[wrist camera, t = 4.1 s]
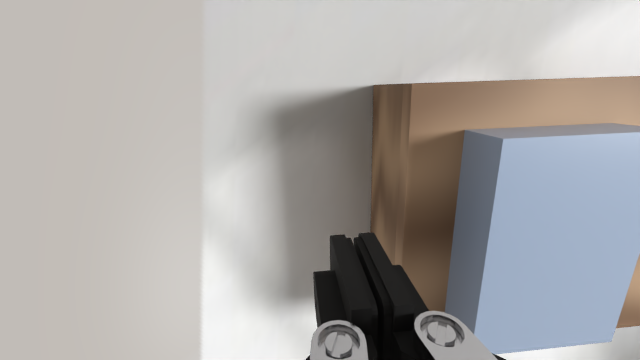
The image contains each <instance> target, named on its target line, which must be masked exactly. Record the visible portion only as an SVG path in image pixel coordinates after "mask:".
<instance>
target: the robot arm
mask: <svg viewBox="0 0 640 360" xmlns="http://www.w3.org/2000/svg"><path fill="white" fill-rule="evenodd" d="M330 267H331V270H330V271H318V272H314V297H315V309H316V319H317V327H318V328H317V329H316V331H315V332H314V333H313V337H312V341H311V351H310V355H309V357H308V358H307V359H306V360H506V359H503V358H501V357H499V356H497V355H495V354H493V353H491V352H490V351H489V350H488V349H487V348H486V347H485V346H484V345H483V343H482V342H481V341H480V340H479V339H478V338H477V337H476V336H475V335H474V334H473V333H472V332H471V331H470V330H469V328H468V327H467V326H466V325H465V324H464V323H462V322H461V321H460V320H459V319H458V318H456V317H454V316H452V315H450V314H447V313H444V312H440V311H429V309H428V308H427V306H426V305H425V303H424V301H423V300H422V298H421V297H420V295H419V293H418V292H417V290H416V288H415V287H414V285H413V284H412V282H411V280H410V279H409V277H408V275H407V274H406V272H405V271H404V269H403V267H402V266H401V265H392V263H391V261H390V259H389V258H388V256H387V254H386V252H385V251H384V249H383V247H382V245H381V244H380V242H379V240H378V238H377V237H376V235H375V233H359V237H356V238H354V245H353V243H352V240H351V238H346V237H345V235H333V236H330Z"/></svg>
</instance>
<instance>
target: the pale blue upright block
mask: <svg viewBox="0 0 640 360" xmlns="http://www.w3.org/2000/svg"><path fill="white" fill-rule="evenodd" d="M639 254H640V126H635V125H626V124H617V123H600V124H578V125H556V126H535V127H513V128H491V129H470V130H465V133H464V142H463V151H462V160H461V169H460V178H459V187H458V196H457V205H456V214H455V223H454V232H453V241H452V250H451V259H450V269H449V278H448V287H447V296H446V305H445V313H447V314H450V315H452V316H454V317H456V318H458V319H459V320H460V321H461V322H462V323H464V324H465V325H466V326H467V327H468V328H469V330H470V331H471V332H472V333H473V334H474V335H475V336H476V337H477V338H478V339H479V340H480V341H481V342H482V343H483V345H484V346H485V347H486V348H487V349H488V350H489V351H490V352H491V353H493V354H502V353H511V352H521V351H530V350H539V349H548V348H557V347H566V346H575V345H584V344H593V343H602V342H611V341H612V338H613V335H614V332H615V329H616V326H617V323H618V319H619V316H620V313H621V310H622V307H623V304H624V301H625V298H626V294H627V291H628V288H629V285H630V282H631V279H632V276H633V273H634V269H635V266H636V263H637V260H638V257H639Z"/></svg>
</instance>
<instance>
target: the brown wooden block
mask: <svg viewBox="0 0 640 360" xmlns="http://www.w3.org/2000/svg"><path fill="white" fill-rule="evenodd" d="M600 123H617V124H626V125H635V126H640V76H628V77H597V78H566V79H536V80H505V81H475V82H444V83H414V84H387V85H374V89H373V138H372V188H371V233H375V235H376V237H377V238H378V240H379V242H380V244H381V245H382V247H383V249H384V251H385V252H386V254H387V256H388V258H389V259H390V261H391V263H392V265H401V266H402V267H403V269H404V271H405V272H406V274H407V275H408V277H409V279H410V280H411V282H412V284H413V285H414V287H415V288H416V290H417V292H418V293H419V295H420V297H421V298H422V300H423V301H424V303H425V305H426V306H427V308H428V309H429V311H440V312H444V313H445V305H446V296H447V287H448V278H449V269H450V259H451V250H452V241H453V232H454V223H455V214H456V205H457V196H458V187H459V178H460V169H461V160H462V151H463V142H464V133H465V130H470V129H491V128H513V127H535V126H556V125H578V124H600ZM632 326H640V254H639V257H638V260H637V263H636V266H635V269H634V273H633V276H632V279H631V282H630V285H629V288H628V291H627V294H626V298H625V301H624V304H623V307H622V310H621V313H620V316H619V319H618V323H617V326H616V328H622V327H632Z"/></svg>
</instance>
